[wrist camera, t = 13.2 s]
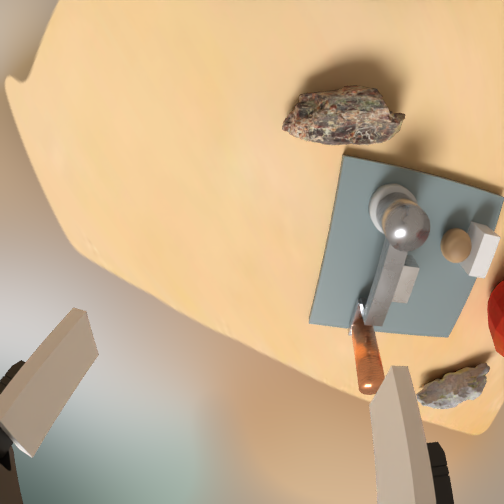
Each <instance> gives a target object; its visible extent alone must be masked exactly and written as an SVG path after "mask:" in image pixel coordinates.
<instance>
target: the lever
mask: <svg viewBox="0 0 504 504" xmlns="http://www.w3.org/2000/svg"><path fill="white" fill-rule="evenodd" d="M376 219H377V222H378V224H379V226H380V227H381V229H382V231H383V232H384V234H385V236H386V237H385V241H384V245H383V248H382V252H381V256H380V259H379V263H378V266H377V270H376V273H375V277H374V280H373V284H372V287H371V290H370V293H369V296H368V298H362V297H361V299H357V302H356V305H355V308H354V312H353V315H352V318H351V321H350V324H349V327H348V335H352V340H353V347H354V354H355V361H356V369H357V377H358V385H359V391H360V392H361V393H363V394H366V395H372V394H376V393H377V391H378V389H379V388H380V386H381V384H382V382H383V381H384V379H385V377H384V372H383V367H382V362H381V358H380V353H379V349H378V344H377V340H376V336H375V331H374V327H373V326H383V323H384V321H385V318H386V315H387V313H388V310H389V307H390V305H391V302H398V303H407V302H408V300H409V297H410V294H411V292H412V289H413V286H414V283H415V281H416V278H417V275H418V272H419V269H420V267H419V266H418V264H417V263H416V261H415V259H414V258H413V256H412V255H407V253H408V252H409V251H413V250H416V249H417V248H419V247H420V246H422V245H423V244H424V243H425V241H426V240H427V238H428V236H429V233H430V220H429V217H428V215H427V214H426V213H425V212H424V211H423V210H422V209H421V208H420V207H419V206H418V205H417V204H416V203H415V202H414V201H413V200H412V199H411V198H410V197H409V196H408V195H406V194H404V193H401V192H394V193H390V194H388V195H386V196H385V197H383V198H382V199H381V201H380V202H379V204H378V206H377V209H376Z"/></svg>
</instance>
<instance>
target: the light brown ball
mask: <svg viewBox="0 0 504 504" xmlns="http://www.w3.org/2000/svg"><path fill="white" fill-rule="evenodd" d="M440 246H441V252H442V254H443V256H444V257H445V258H446V259H447V260H448V261H450V262H452V263H460V262H463V261H464V260H466V259H467V258H468V256H469V255H470V252H471V248H472V243H471V239H470V237H469V235H468V234H467V233H466V232H465V231H464V230H462V229H459V228H453V229H450V230H448V231H447V232H446V233H445V234H444V235H443V237H442V239H441V244H440Z"/></svg>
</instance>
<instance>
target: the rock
mask: <svg viewBox="0 0 504 504" xmlns="http://www.w3.org/2000/svg"><path fill="white" fill-rule="evenodd" d="M404 119H405V114H402V113H393V112H392V111H390V112H389V109H388V106H386V104H385V102H384V100H383V99H382V95H381V94H380V93H379V92H378V90H377V89H375V88H366V87H364V86H344V88H341V89H340V90H334V91H324V92H314V93H306V94H301V95H300V96H299V103H297V104H296V106H295V109H294V110H293V111H292V112H291V113H290V114H289V115H288V117H287V118H286V119H285V120H284V122H283V126H282V130H283V131H288V132H289V134H291V135H293V136H294V137H297V138H300V139H304V140H306V141H312V142H318V143H322V144H326V145H342V144H346V145H347V144H357V145H370V144H374V143H382V142H385V141H387V140H389V139H391V138H392V137H393V136H394V135H395V134H396V133H397V132H398V131H400V128H401V125H402V122H403V120H404Z"/></svg>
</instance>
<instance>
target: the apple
mask: <svg viewBox="0 0 504 504" xmlns="http://www.w3.org/2000/svg"><path fill="white" fill-rule="evenodd" d="M487 310H488V325H489V329H490V332H491V336H492V339H493V342H494V346H495V349H496V351H497V352H498V353H499V354H501V355H502V356H503V357H504V280H503V281H502V282H500V283H499V284H498V285H497V286H496V287H495V289H494V290H493V291H492V292H491V295H490V298H489V300H488V309H487Z"/></svg>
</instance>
